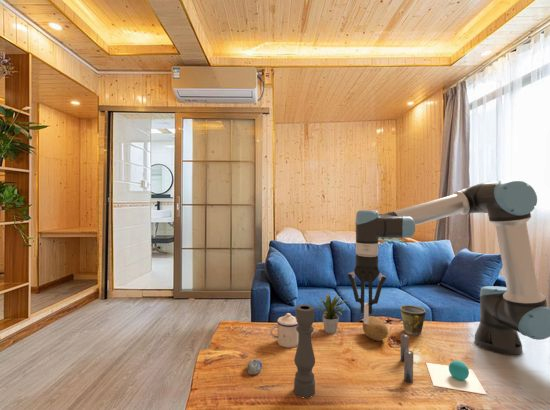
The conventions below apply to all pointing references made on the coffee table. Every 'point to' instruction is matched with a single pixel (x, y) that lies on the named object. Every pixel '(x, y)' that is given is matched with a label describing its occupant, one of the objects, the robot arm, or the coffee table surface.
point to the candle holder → (304, 352)
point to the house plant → (331, 313)
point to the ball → (458, 370)
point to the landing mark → (453, 379)
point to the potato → (375, 329)
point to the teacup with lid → (286, 331)
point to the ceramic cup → (412, 319)
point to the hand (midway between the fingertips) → (366, 322)
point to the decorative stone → (254, 366)
